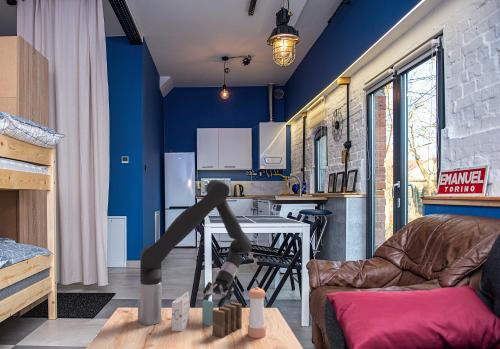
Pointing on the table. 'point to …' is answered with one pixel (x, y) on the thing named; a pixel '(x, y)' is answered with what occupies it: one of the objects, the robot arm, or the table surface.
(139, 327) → the table surface
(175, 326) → the ink cartridge box
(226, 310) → the walnut tile
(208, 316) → the teal tile
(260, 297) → the pepper shaker
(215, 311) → the walnut tile
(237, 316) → the walnut tile
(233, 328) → the walnut tile
